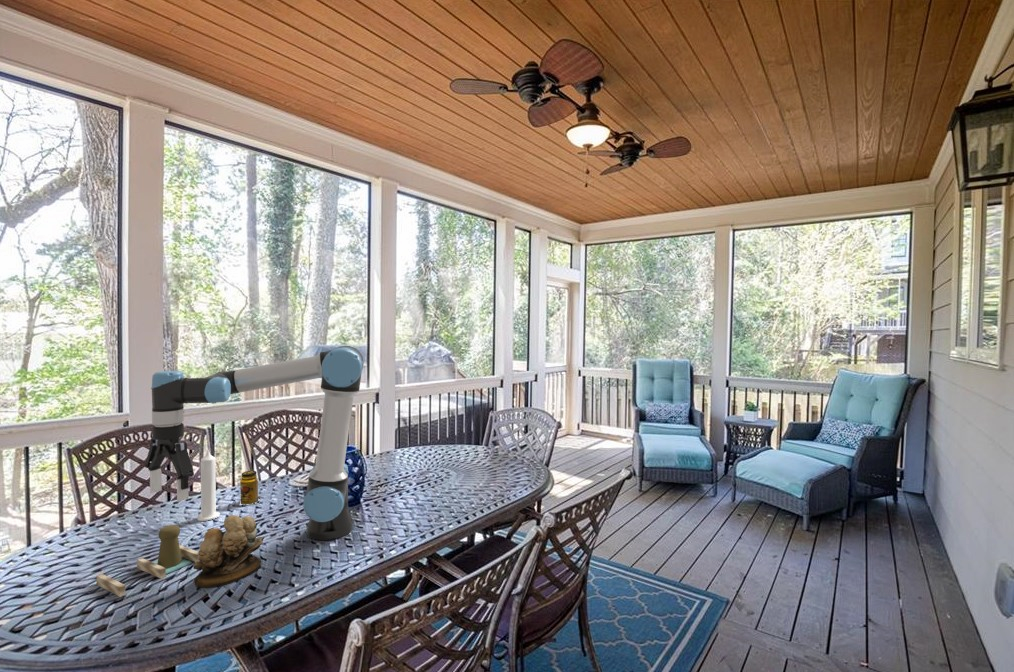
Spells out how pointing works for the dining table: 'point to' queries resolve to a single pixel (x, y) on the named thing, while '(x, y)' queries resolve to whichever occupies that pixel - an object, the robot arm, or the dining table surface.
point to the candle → (208, 488)
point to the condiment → (249, 487)
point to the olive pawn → (169, 547)
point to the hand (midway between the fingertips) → (169, 495)
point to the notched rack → (149, 568)
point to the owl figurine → (228, 553)
